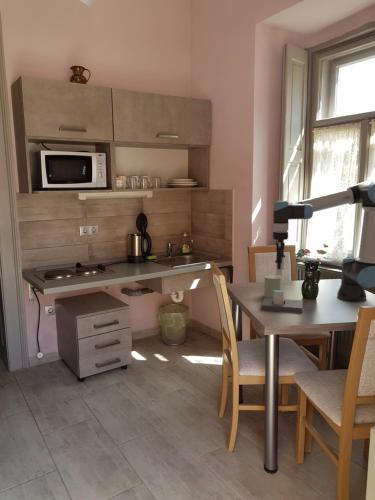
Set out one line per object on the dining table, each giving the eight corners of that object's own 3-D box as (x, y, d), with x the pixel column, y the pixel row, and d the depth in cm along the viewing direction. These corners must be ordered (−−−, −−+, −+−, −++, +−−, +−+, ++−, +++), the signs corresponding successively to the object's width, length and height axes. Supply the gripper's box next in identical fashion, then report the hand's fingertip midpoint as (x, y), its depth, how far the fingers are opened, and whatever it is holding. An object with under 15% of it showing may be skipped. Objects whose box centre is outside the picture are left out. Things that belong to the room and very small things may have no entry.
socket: (302, 305, 210) (302, 300, 210) (302, 313, 197) (302, 308, 197) (264, 302, 216) (264, 297, 216) (261, 309, 203) (261, 305, 203)
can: (280, 299, 222) (281, 278, 220) (263, 298, 224) (264, 277, 222) (280, 294, 231) (280, 274, 229) (264, 294, 233) (264, 274, 231)
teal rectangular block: (283, 305, 208) (283, 290, 207) (282, 307, 205) (283, 292, 203) (273, 304, 210) (274, 289, 209) (273, 306, 206) (273, 291, 205)
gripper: (275, 228, 214) (274, 267, 217) (270, 234, 190) (270, 277, 194) (289, 228, 212) (288, 267, 215) (286, 234, 188) (286, 278, 192)
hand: (280, 272), depth 204 cm, fingers open, 13 cm apart
